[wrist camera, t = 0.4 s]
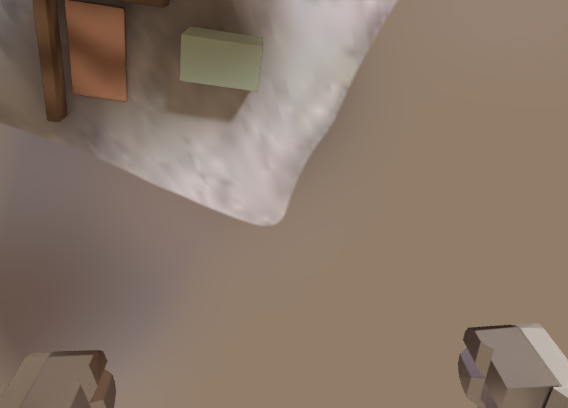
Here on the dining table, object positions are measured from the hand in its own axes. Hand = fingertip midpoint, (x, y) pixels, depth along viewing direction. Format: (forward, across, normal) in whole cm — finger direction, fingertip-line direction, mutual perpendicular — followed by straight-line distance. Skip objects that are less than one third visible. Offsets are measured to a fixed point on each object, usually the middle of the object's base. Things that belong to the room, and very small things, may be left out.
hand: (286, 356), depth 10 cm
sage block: (+44, +5, +1) cm, 44 cm away
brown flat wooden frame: (+44, +18, +1) cm, 47 cm away
